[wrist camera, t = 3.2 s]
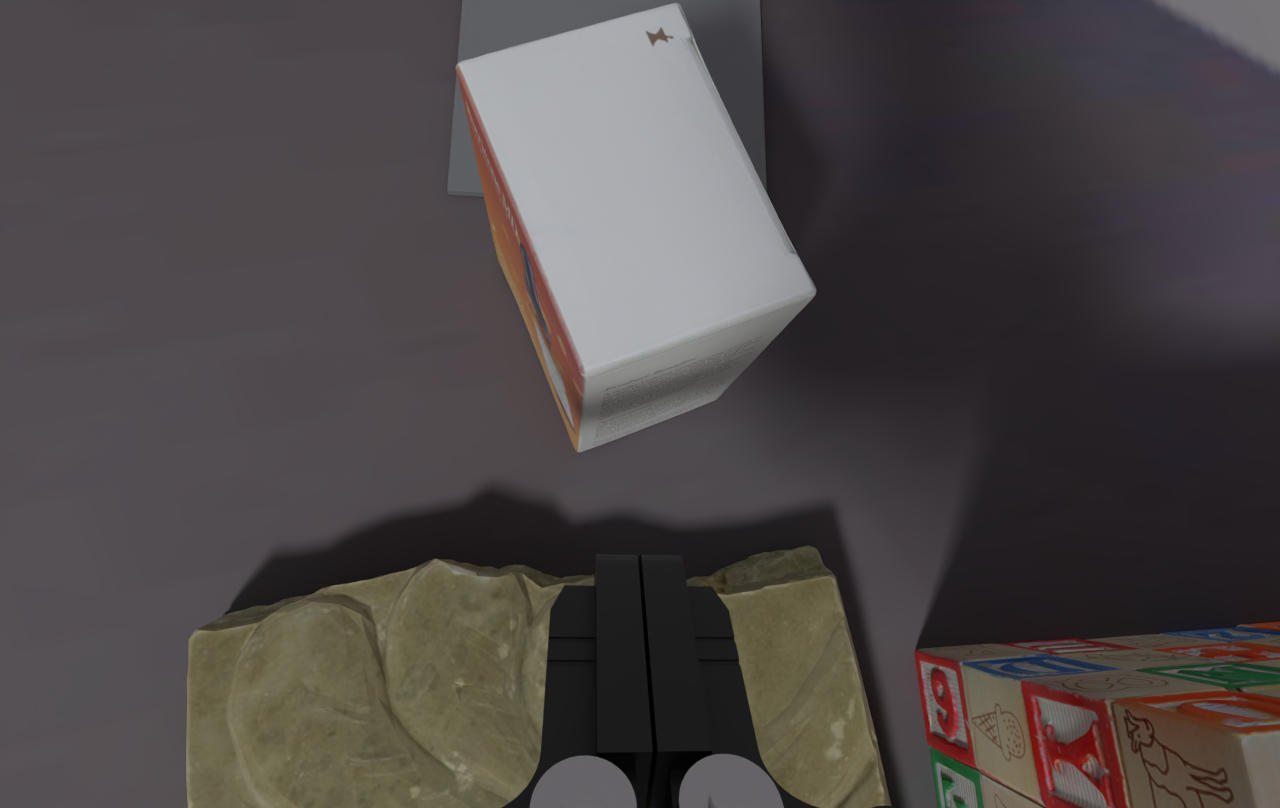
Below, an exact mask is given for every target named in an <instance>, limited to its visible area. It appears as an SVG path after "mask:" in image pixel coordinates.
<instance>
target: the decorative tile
mask: <svg viewBox="0 0 1280 808" xmlns="http://www.w3.org/2000/svg"><path fill="white" fill-rule="evenodd" d="M686 582H687V586H712V587H713V589H714V590H715V591H716V593H717V594H718V596H719V597H720V598H721V600H722V601H723V603H724V604H725V605H726V607H727V608H728V610H729V613H730V618H731V623H732V627H733V632H734V637H735V638H734V641H735V642H736V646H737V651H738V655H739V665H741V670H742V674H743V679H744V684H745V688H746V693H747V698H748V702H749V707H750V712H751V717H752V721H753V726H754V731H755V735H756V740H757V745H758V749H759V752H760V756H761V758H762V761H763V763H764V765H765V767H766V768H767V770H768V772H769V773H770V775H771V776H772V777H773V778H774V780H775V781H776V782H777V783H778V784H779V785H780V786H781V787H782V788H783V789H784V790H786V791H787V792H788V793H790V794H791V795H792V796H794V797H796V798H797V799H799V800H801V801H803V802H805V803H808V804H810V805H813V806H816V807H819V808H872V807H875V806H885V805H886V806H891V802H890V798H889V793H888V788H887V784H886V779H885V775H884V770H883V765H882V761H881V756H880V752H879V747H878V743H877V738H876V734H875V730H874V725H873V721H872V717H871V713H870V709H869V705H868V701H867V697H866V693H865V689H864V684H863V680H862V676H861V672H860V668H859V664H858V660H857V656H856V652H855V648H854V645H853V641H852V637H851V633H850V629H849V626H848V622H847V618H846V614H845V610H844V606H843V602H842V598H841V594H840V590H839V587H838V583H837V579H836V576H835V575H834V574H833V573H832V571H830V570H829V569H828V568H826V567H825V566H824V565H823V562H822V559H821V557H820V554H819V551H818V550H817V549H816V548H814V547H811V546H804V547H799V548H794V549H789V550H775V551H772V552H762V553H760V554H756V555H751V556H749V557H748V558H747V559H745V560H742V561H738V562H736V563H733V564H731V565H729V566H726V567H724V568H721V569H719V570H718V571H716V572H715V573H713V574H712V575H710V576H704V577H697V576H693V577H691V578H689V579H686ZM564 585H587V586H594V574H593V575H578V576H567V577H563V578H558V577H555V576H552V575H549V574H544V573H543V572H541V571H538V570H536V569H533V568H530V567H528V566H525V565H507V566H505V567H502V568H500V569H497V568H494V567H491V566H487V567H480V566H476V565H473V564H470V563H459V562H457V561H455V560H453V559H432V560H430V561H427V562H425V563H423V564H421V565H419V566H417V567H415V568H412V569H409V570H406V571H401V572H396V573H391V574H387V575H382V576H378V577H375V578H372V579H368V580H363V581H357V582H352V583H342V584H337V585H333V586H329V587H326V588H322V589H320V590H318V591H317V592H315V593H313V594H310V595H306V596H299V597H291V598H285V599H283V600H281V601H279V602H277V603H274V604H272V605H261V606H253V607H250V608H247V609H244V610H240V611H236V612H232V613H229V614H225V615H223V616H222V617H221V618H219V619H217V620H215V621H213V622H211V623H209V624H207V625H205V626H203V627H201V628H198V629H195V631H194V632H193V634H192V636H191V637H190V639H189V664H188V674H187V745H186V781H187V801H188V808H502V807H503V806H505V805H506V804H508V803H510V802H511V801H512V800H513V799H515V798H516V797H517V796H518V795H519V794H520V793H521V792H522V791H523V790H524V789H525V788H526V787H527V785H528V784H529V782H530V781H531V779H532V778H533V775H534V773H535V771H536V769H537V766H538V763H539V760H540V753H541V741H542V726H543V711H544V696H545V682H546V667H547V652H548V638H549V622H550V609H551V607H552V606H553V604H554V602H555V601H556V599H557V597H558V595H559V594H560V592H561V590H562V589H563V587H564Z"/></svg>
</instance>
